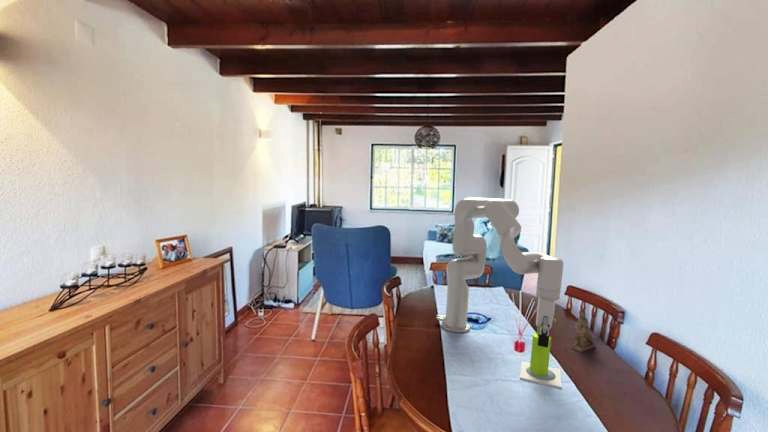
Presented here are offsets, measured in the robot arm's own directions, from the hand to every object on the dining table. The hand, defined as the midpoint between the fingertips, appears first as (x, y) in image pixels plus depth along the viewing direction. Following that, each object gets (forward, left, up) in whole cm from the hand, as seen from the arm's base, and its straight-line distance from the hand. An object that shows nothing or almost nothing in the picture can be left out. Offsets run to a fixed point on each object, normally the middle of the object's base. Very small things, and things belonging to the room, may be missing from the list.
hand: (542, 340), depth 133 cm
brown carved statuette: (+16, +34, -13) cm, 40 cm away
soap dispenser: (0, 0, -12) cm, 12 cm away
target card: (0, 0, -12) cm, 12 cm away
